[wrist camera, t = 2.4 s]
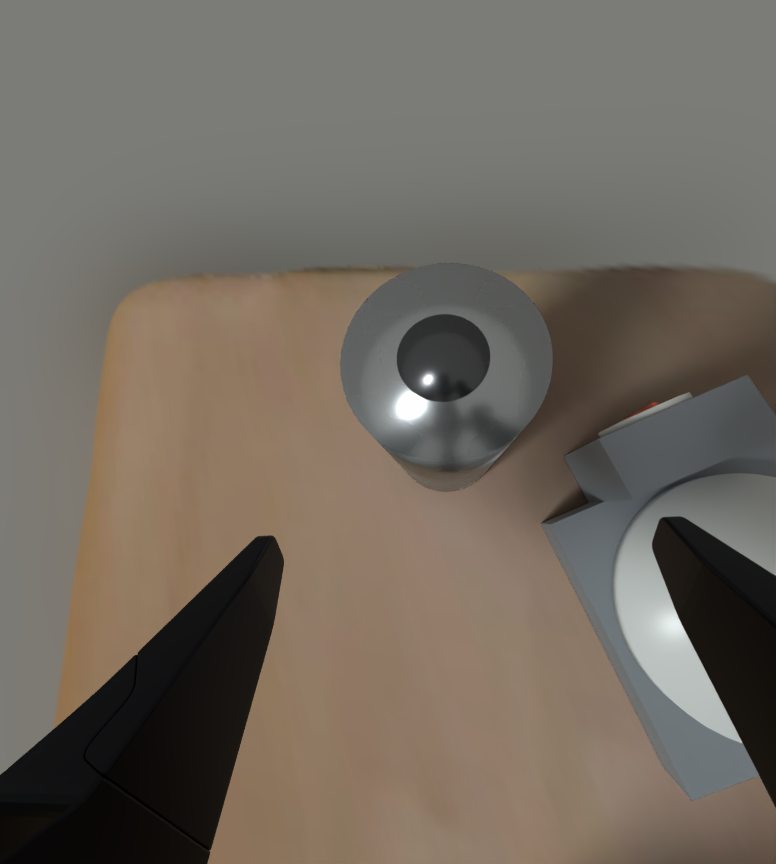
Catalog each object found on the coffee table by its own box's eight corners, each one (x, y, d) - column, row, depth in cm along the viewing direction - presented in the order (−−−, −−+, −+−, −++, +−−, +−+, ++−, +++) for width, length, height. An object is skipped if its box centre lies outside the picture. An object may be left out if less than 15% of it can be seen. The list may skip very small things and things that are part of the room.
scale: (664, 768, 17) (745, 863, 12) (513, 467, 20) (532, 453, 16) (918, 670, 17) (1101, 731, 12) (719, 378, 20) (803, 336, 15)
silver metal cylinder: (420, 507, 21) (387, 496, 9) (383, 421, 22) (311, 314, 10) (511, 468, 21) (595, 406, 9) (468, 383, 22) (493, 230, 10)
